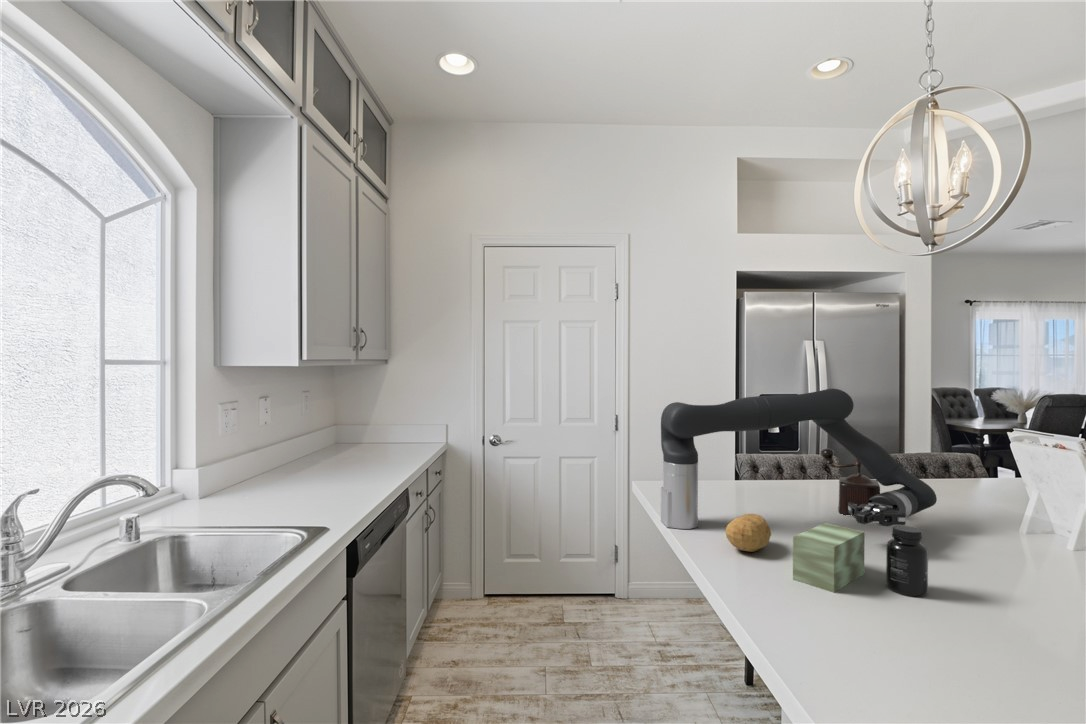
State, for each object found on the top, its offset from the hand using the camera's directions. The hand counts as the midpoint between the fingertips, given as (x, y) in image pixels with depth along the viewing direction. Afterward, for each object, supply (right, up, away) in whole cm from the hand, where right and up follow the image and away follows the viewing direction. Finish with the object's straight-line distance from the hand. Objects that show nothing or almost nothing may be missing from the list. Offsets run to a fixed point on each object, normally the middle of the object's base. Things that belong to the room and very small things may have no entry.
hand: (861, 519), depth 123 cm
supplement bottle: (-1, -9, -17) cm, 20 cm away
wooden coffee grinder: (+19, -9, +38) cm, 44 cm away
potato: (-24, -9, +5) cm, 26 cm away
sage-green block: (-13, -9, -11) cm, 19 cm away
